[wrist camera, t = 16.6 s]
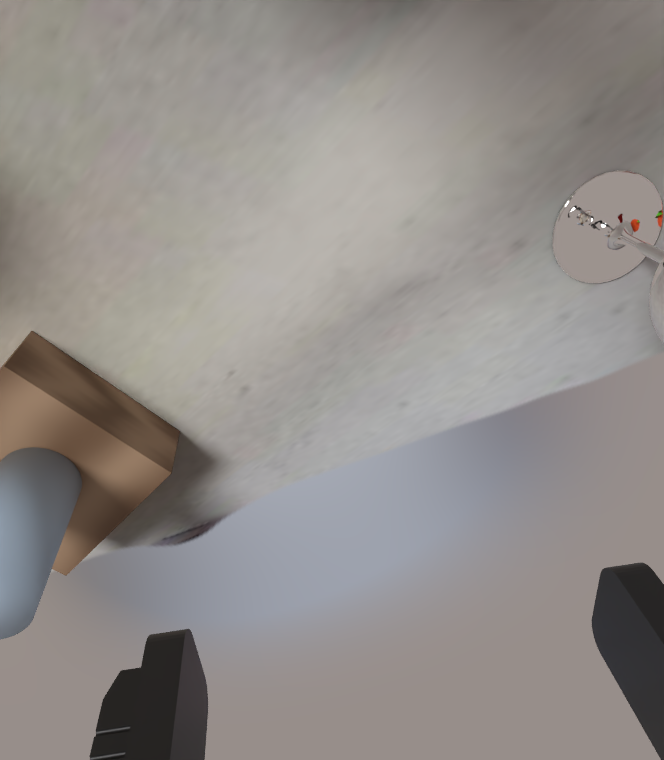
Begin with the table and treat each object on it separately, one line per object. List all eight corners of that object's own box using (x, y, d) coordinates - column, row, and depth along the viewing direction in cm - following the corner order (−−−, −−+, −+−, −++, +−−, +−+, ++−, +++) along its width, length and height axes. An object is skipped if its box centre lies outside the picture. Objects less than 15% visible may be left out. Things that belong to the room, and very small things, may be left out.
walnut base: (-65, 445, 42) (-102, 491, 38) (31, 330, 39) (3, 366, 35) (83, 527, 47) (66, 575, 43) (179, 431, 44) (171, 473, 40)
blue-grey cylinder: (-21, 483, 38) (-99, 612, 30) (26, 433, 37) (-41, 553, 28) (51, 522, 41) (-2, 653, 32) (98, 477, 39) (56, 600, 31)
